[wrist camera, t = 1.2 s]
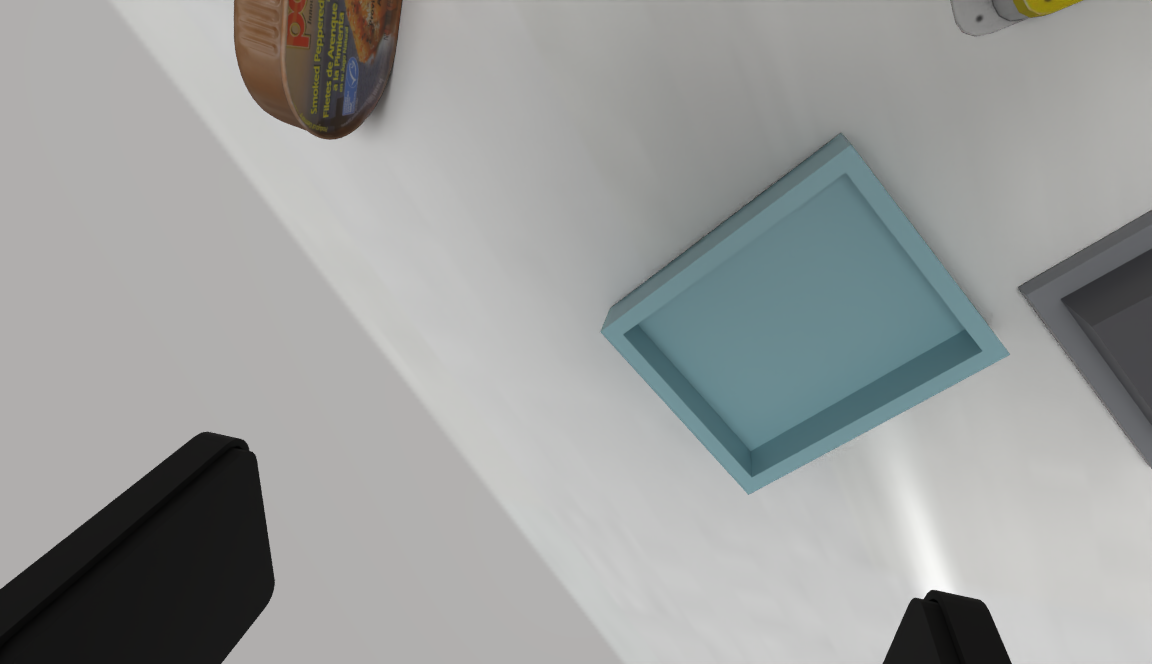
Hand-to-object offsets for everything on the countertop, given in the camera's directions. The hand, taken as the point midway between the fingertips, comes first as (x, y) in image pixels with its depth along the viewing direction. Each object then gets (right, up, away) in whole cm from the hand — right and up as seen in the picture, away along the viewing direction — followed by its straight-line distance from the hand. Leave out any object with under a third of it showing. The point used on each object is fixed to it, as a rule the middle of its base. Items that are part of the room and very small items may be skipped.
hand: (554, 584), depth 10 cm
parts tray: (+11, +4, +25) cm, 27 cm away
